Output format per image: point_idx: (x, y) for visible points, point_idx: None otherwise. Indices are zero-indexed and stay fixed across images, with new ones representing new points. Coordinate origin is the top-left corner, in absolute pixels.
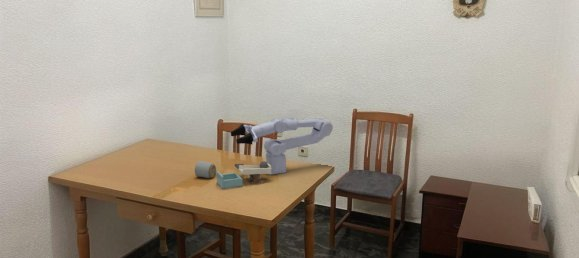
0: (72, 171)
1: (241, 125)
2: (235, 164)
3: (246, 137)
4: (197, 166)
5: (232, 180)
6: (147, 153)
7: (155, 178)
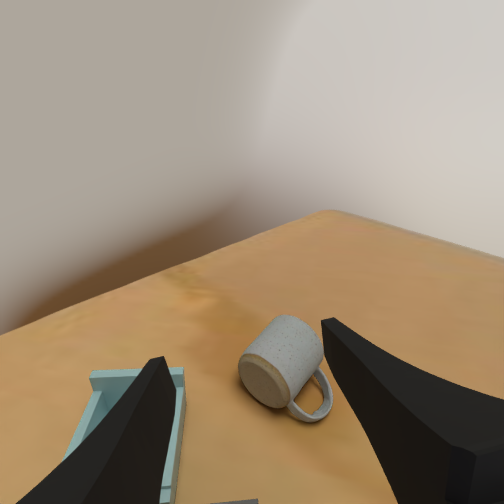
0: (345, 217)
1: (482, 411)
2: (243, 501)
3: (56, 476)
4: (272, 321)
5: (74, 440)
6: (491, 286)
7: (292, 278)
